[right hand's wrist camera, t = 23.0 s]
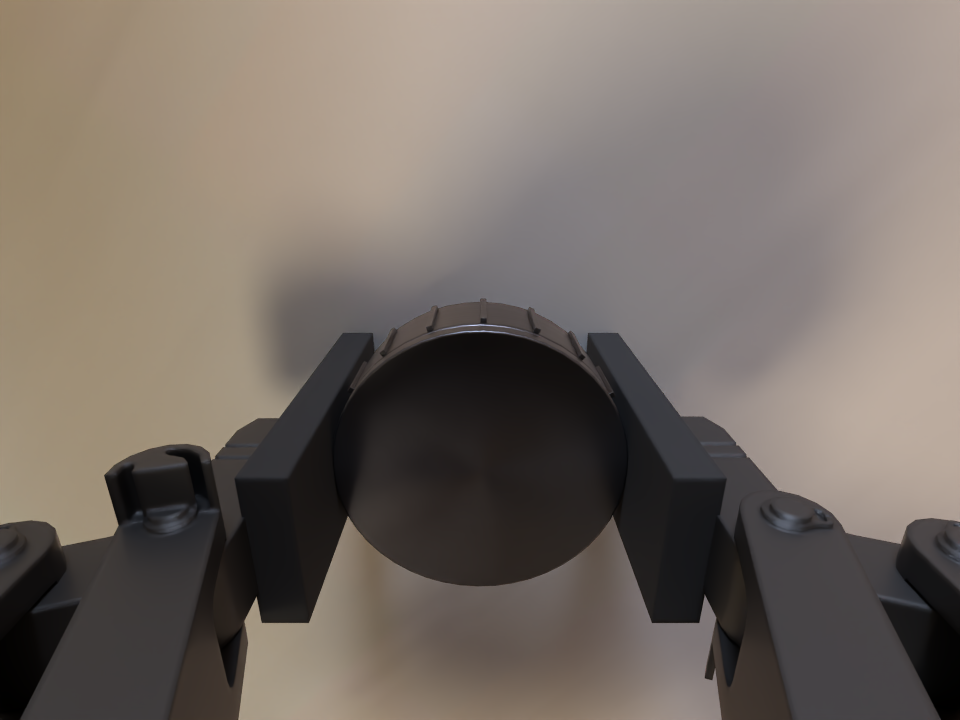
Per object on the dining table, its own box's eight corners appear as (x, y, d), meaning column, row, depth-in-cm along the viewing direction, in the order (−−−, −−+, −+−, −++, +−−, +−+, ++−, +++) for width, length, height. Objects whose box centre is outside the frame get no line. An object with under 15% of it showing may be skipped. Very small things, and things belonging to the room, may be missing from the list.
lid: (649, 465, 12) (678, 519, 11) (434, 562, 13) (426, 626, 12) (538, 247, 11) (550, 267, 9) (299, 377, 12) (266, 419, 10)
